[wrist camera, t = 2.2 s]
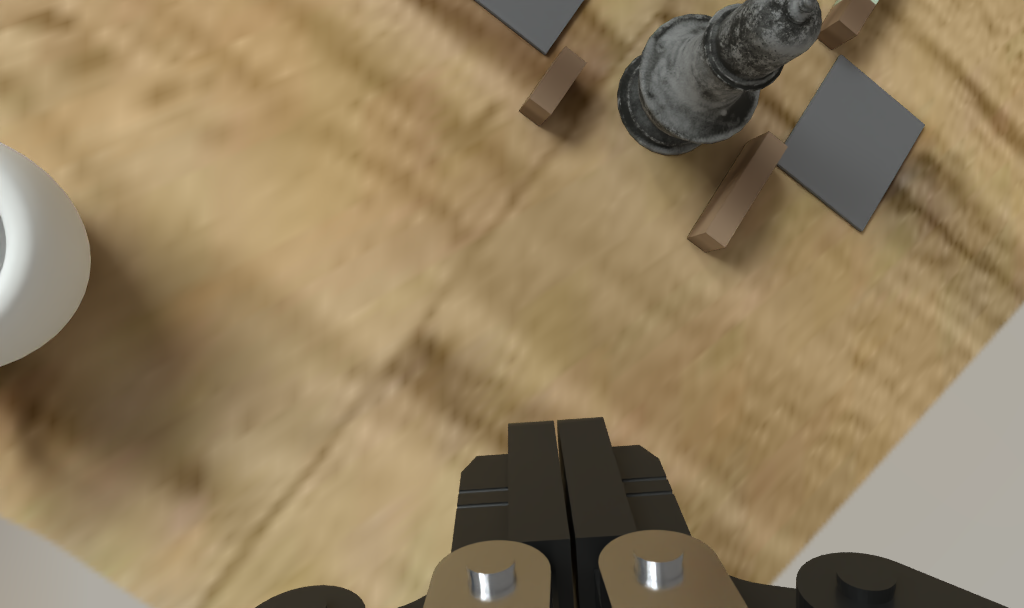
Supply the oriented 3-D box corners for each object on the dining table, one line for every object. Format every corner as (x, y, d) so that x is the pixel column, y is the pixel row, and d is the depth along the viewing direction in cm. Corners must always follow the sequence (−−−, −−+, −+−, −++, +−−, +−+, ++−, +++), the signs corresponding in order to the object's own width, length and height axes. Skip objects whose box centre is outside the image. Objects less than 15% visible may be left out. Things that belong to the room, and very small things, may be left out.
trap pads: (832, 278, 40) (834, 278, 40) (441, -26, 37) (441, -28, 36) (922, 125, 42) (924, 124, 42) (557, -181, 38) (558, -184, 38)
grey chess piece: (615, 33, 38) (741, -102, 27) (725, 53, 40) (892, -68, 28) (607, 152, 38) (731, 68, 26) (719, 168, 39) (884, 94, 28)
